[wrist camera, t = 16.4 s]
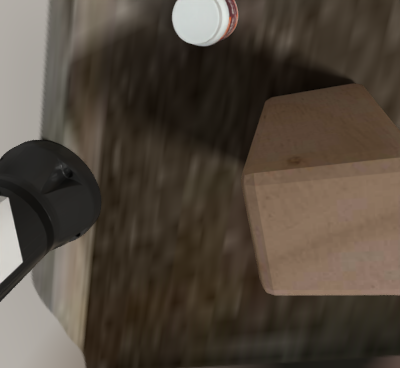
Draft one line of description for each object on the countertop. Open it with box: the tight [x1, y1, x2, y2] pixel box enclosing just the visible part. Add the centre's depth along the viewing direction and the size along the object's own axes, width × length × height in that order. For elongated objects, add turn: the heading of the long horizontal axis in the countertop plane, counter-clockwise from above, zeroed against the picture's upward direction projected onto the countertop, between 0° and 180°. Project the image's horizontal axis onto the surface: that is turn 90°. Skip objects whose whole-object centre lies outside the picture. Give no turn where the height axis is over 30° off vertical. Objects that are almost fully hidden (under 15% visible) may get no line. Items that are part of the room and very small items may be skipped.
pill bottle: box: [172, 0, 238, 46], centre depth 32 cm, size 5×5×8 cm
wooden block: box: [241, 83, 400, 295], centre depth 30 cm, size 10×10×20 cm
